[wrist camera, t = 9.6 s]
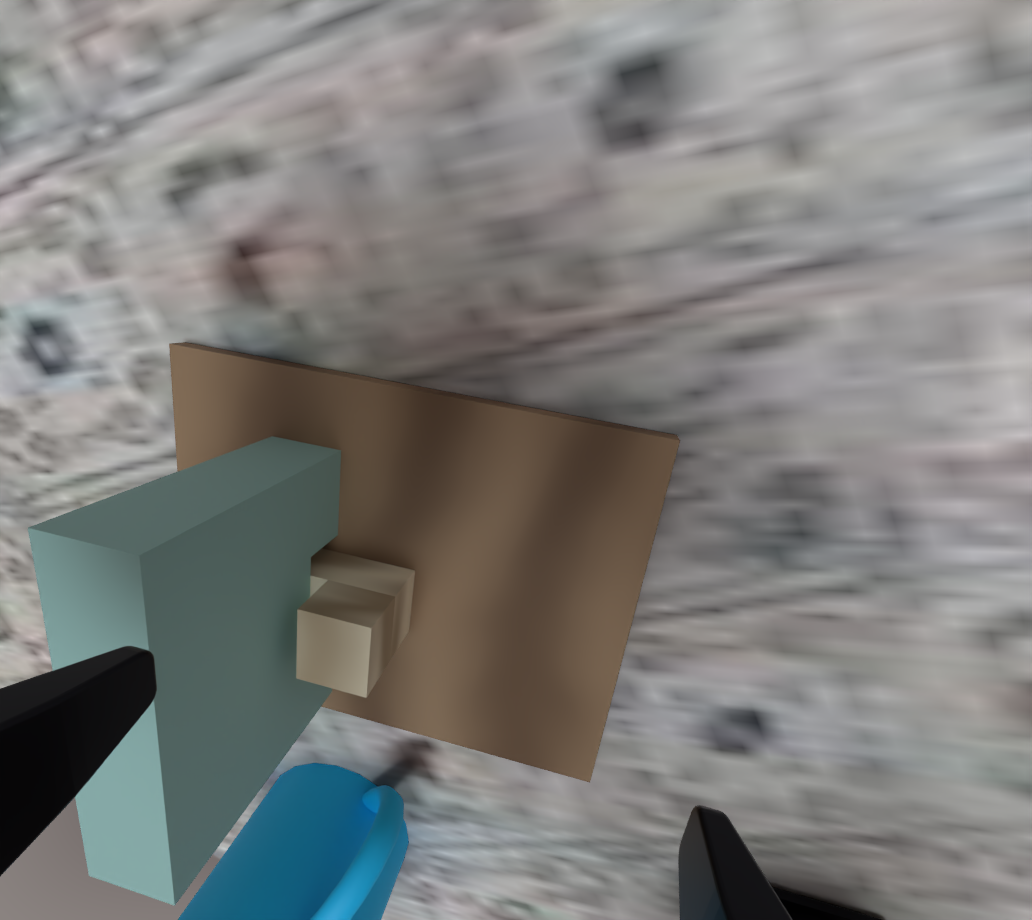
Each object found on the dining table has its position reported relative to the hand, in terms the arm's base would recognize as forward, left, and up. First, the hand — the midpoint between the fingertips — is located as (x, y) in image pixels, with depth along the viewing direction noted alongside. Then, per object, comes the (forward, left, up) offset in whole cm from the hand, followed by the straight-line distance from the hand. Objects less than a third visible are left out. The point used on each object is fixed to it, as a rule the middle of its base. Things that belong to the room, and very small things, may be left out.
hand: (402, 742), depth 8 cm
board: (+5, +5, -12) cm, 14 cm away
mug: (+6, +20, -13) cm, 25 cm away
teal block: (+9, +6, -12) cm, 16 cm away
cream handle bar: (+9, +6, -12) cm, 16 cm away
